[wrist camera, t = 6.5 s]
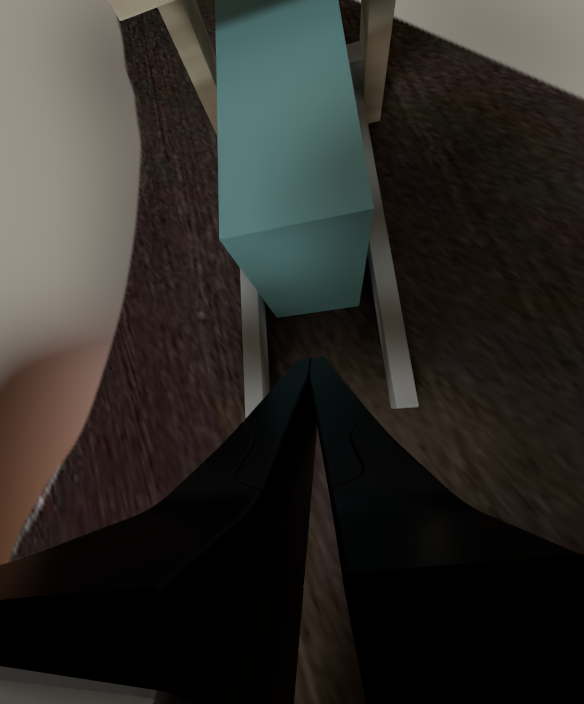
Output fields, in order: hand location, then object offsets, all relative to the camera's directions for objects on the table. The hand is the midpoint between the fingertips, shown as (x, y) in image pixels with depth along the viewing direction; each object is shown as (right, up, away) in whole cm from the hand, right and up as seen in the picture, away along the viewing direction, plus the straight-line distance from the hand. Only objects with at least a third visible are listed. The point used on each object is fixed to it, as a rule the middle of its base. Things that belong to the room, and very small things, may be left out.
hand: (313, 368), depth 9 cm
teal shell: (0, +10, +9) cm, 13 cm away
